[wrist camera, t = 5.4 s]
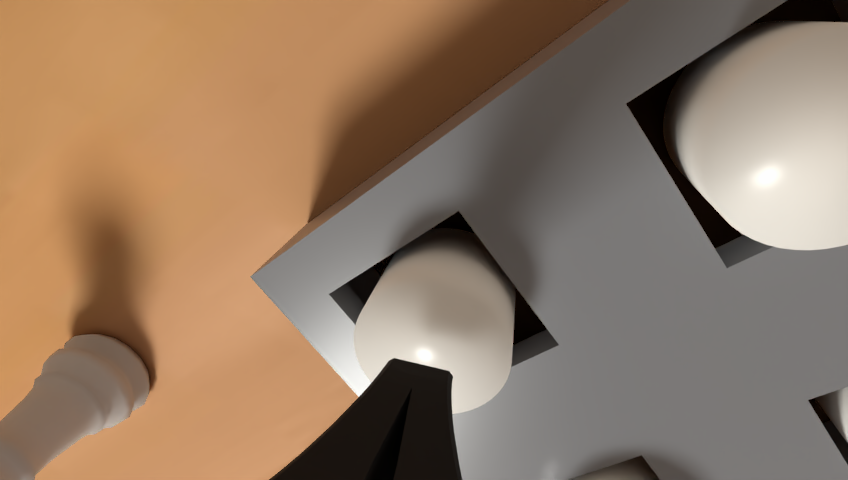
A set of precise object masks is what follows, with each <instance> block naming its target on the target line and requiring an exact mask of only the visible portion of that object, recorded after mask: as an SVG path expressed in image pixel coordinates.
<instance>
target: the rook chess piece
mask: <svg viewBox="0 0 848 480" xmlns="http://www.w3.org/2000/svg"><path fill="white" fill-rule="evenodd" d="M149 386H150V381H149V374H148V370H147V368H146V366H145V365H144V363H143V361H142V359H141V358H140V357H139V356H138V355H137V354H136V353H135V352H134V351H133V350H132V349H131V348H130V347H129V346H128V345H126V344H124V343H123V342H121V341H119V340H118V339H116V338H113V337H110V336H106V335H102V334H88V335H79V336H74V337H73V338H71V339H70V340H69V341H68V342H66V343H65V345H64V349H58V350H57V351H56V352H55V353H53V354H52V355H51V356H49V358H48V359H47V360H46V361H45V363H44V365H43V369H42V373H41V375H40V376H39V377H38V378H36V379H35V382H34V386H33V388H32V390H31V391H30V392H29V393H28V395H27V396H26V397H25V398H24V399H23V400H22V401H21V402H20V403H19V404H18V405H17V406H16V407H15V408H14V409H13V410H12V411H11V412H10V413H9V414H7V415H6V416H5V417H4V418H3V419H2V420H1V421H0V480H34V479H35V475H36V474H37V473H38V472H40V471H41V470H42V469H43V468H44V467H45V466H46V465H47V464H48V463H49V462H50V461H51V460H53V459H54V458H55V457H57V456H58V455H59V454H61V453H62V452H63V451H65V450H66V449H67V448H69V447H70V446H71V445H73V444H74V443H76V442H77V441H78V440H80V439H81V438H83V437H85V436H86V435H91V434H96V433H97V432H99V431H101V430H102V429H103V428H112V427H113V426H115V425H117V424H118V423H120V422H122V421H123V420H125V419H127V418H128V417H130V414H131V412H132V410H135V409H137V408H139V407H140V406H142V405H144V404H145V401H146V399H147V397H148V394H149Z"/></svg>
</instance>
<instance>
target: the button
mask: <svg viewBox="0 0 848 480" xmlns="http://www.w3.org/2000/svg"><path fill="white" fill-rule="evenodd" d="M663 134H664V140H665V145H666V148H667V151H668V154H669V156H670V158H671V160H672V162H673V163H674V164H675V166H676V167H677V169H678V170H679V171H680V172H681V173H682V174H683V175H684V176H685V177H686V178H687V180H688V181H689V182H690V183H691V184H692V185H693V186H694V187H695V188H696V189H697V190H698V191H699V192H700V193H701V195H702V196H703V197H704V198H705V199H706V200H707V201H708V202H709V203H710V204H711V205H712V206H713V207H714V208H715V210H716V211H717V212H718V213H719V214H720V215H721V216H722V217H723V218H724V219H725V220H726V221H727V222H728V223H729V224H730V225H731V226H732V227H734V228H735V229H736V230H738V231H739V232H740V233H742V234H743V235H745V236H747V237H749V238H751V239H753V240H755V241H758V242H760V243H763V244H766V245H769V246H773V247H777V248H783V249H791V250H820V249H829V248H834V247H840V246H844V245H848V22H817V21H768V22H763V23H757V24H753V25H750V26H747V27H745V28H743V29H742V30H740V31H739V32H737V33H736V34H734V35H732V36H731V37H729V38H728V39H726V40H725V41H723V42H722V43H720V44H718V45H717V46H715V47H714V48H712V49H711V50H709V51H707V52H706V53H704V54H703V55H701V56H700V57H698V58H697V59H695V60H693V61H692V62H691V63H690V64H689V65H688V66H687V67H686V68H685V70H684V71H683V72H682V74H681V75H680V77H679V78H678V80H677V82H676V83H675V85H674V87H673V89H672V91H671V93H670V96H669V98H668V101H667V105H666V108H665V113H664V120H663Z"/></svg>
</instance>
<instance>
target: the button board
mask: <svg viewBox="0 0 848 480" xmlns="http://www.w3.org/2000/svg"><path fill="white" fill-rule="evenodd" d="M785 1H787V0H608V1H607V2H606V3H604V4H603V5H602V6H600V7H599V8H598V9H596V10H595V11H594V12H592V13H591V14H589V15H588V16H587V17H585V18H584V19H583V20H581V21H580V22H579V23H577V24H576V25H575V26H573V27H572V28H571V29H569V30H568V31H567V32H565V33H564V34H562V35H561V36H560V37H558V38H557V39H556V40H554V41H553V42H552V43H550V44H549V45H548V46H546V47H545V48H544V49H542V50H541V51H540V52H538V53H537V54H536V55H534V56H533V57H531V58H530V59H529V60H527V61H526V62H525V63H523V64H522V65H521V66H519V67H518V68H517V69H515V70H514V71H513V72H511V73H510V74H509V75H507V76H506V77H504V78H503V79H502V80H500V81H499V82H498V83H496V84H495V85H494V86H492V87H491V88H490V89H488V90H487V91H486V92H484V93H483V94H482V95H480V96H479V97H478V98H476V99H475V100H473V101H472V102H471V103H469V104H468V105H467V106H465V107H464V108H463V109H461V110H460V111H459V112H457V113H456V114H455V115H453V116H452V117H451V118H449V119H448V120H446V121H445V122H444V123H442V124H441V125H440V126H438V127H437V128H436V129H434V130H433V131H432V132H430V133H429V134H428V135H426V136H425V137H424V138H422V139H421V140H420V141H418V142H417V143H415V144H414V145H413V146H411V147H410V148H409V149H407V150H406V151H405V152H403V153H402V154H401V155H399V156H398V157H397V158H395V159H394V160H393V161H391V162H390V163H388V164H387V165H386V166H384V167H383V168H382V169H380V170H379V171H378V172H376V173H375V174H374V175H372V176H371V177H370V178H368V179H367V180H366V181H364V182H363V183H362V184H360V185H359V186H357V187H356V188H355V189H353V190H352V191H351V192H349V193H348V194H347V195H345V196H344V197H343V198H341V199H340V200H339V201H337V202H336V203H335V204H333V205H332V206H330V207H329V208H328V209H326V210H325V211H324V212H322V213H321V214H320V215H318V216H317V217H316V218H314V219H313V220H312V221H310V222H309V223H308V224H306V225H305V226H304V227H303V228H302V229H301V230H300V231H299V232H298V233H297V234H296V235H295V236H293V237H292V238H291V239H290V240H289V241H288V242H287V243H286V244H285V245H284V246H283V247H282V248H281V249H280V250H278V251H277V252H276V253H275V254H274V255H273V256H272V257H271V258H270V259H269V260H268V261H267V262H266V263H265V264H263V265H262V266H261V267H260V268H259V269H258V270H257V271H256V272H255V273H254V274H253V275H252V276H251V278H252V279H253V280H254V282H255V283H256V284H257V285H258V286H259V287H260V288H261V289H262V290H263V291H264V293H265V294H266V295H267V296H268V297H269V298H270V299H271V300H272V301H273V303H274V304H275V305H276V306H277V307H278V308H279V309H280V310H281V311H282V312H283V314H284V315H285V316H286V317H287V318H288V319H289V320H290V321H291V322H292V324H293V325H294V326H295V327H296V328H297V329H298V330H299V331H300V332H301V333H302V335H303V336H304V337H305V338H306V339H307V340H308V341H309V342H310V343H311V345H312V346H313V347H314V348H315V349H316V350H317V351H318V352H319V353H320V355H321V356H322V357H323V358H324V359H325V360H326V361H327V362H328V363H329V364H330V366H331V367H332V368H333V369H334V370H335V371H336V372H337V373H338V374H339V376H340V377H341V378H342V379H343V380H344V381H345V382H346V383H347V384H348V385H349V387H350V388H351V389H352V390H353V391H354V392H355V393H356V394H357V395H358V397H359V396H360V395H361V394H362V393H363V392H364V391H365V390H366V389H367V387H368V386H369V385H370V384H371V383H372V382H371V381H370V380H369V379H368V377H367V376H366V375H365V373H364V371H363V370H362V368H361V366H360V364H359V362H358V360H357V356H356V353H355V348H354V329H355V325H356V322H357V319H358V317H359V315H360V313H361V311H362V309H363V307H364V306H365V304H366V302H367V300H368V299H369V297H370V295H371V294H372V292H373V290H374V288H375V287H376V285H377V283H378V281H379V280H380V278H381V276H380V275H379V274H378V273H377V271H376V270H375V269H374V268H373V265H375V264H377V263H378V262H380V261H381V260H383V259H384V258H386V257H388V256H389V255H391V254H392V253H394V252H395V251H397V250H398V249H400V248H402V247H403V246H405V245H406V244H408V243H409V242H411V241H412V240H414V239H416V238H417V237H419V236H420V235H422V234H423V233H425V232H427V231H428V230H430V229H431V228H433V227H434V226H436V225H437V224H439V223H441V222H442V221H444V220H445V219H447V218H448V217H450V216H452V215H453V214H455V213H456V212H458V211H459V212H460V213H461V215H462V216H463V217H464V219H465V220H466V221H467V223H468V224H469V225H470V227H471V228H472V229H473V231H474V232H475V233H476V235H477V236H478V237H479V239H480V240H481V241H482V243H483V244H484V245H485V247H486V248H487V249H488V251H489V252H490V253H491V255H492V256H493V257H494V259H495V260H496V261H497V263H498V264H499V265H500V267H501V268H502V269H503V271H504V272H505V273H506V275H507V276H508V277H509V279H510V280H511V281H512V283H513V284H514V285H515V287H516V288H517V289H518V291H519V292H520V293H521V295H522V296H523V298H524V299H525V300H526V302H527V303H528V304H529V306H530V307H531V308H532V310H533V311H534V312H535V314H536V315H537V316H538V318H539V319H540V320H541V322H542V323H543V324H544V326H545V327H546V328H547V329H546V330H544V331H542V332H540V333H538V334H536V335H534V336H531V337H529V338H527V339H525V340H523V341H521V342H519V343H517V344H515V345H513V351H512V364H511V370H510V373H509V376H508V379H507V381H506V383H505V384H504V386H503V387H502V389H501V390H500V391H499V393H498V394H497V395H495V396H494V397H493V398H492V399H491V400H490V401H488V402H487V403H485V404H483V405H482V406H480V407H478V408H475V409H472V410H470V411H466V412H462V413H456V414H452V415H453V426H454V434H455V441H456V447H457V453H458V460H459V465H460V470H461V476H462V480H569V479H572V478H575V477H578V476H581V475H584V474H587V473H590V472H593V471H596V470H599V469H602V468H605V467H608V466H611V465H614V464H617V463H620V462H623V461H626V460H629V459H632V458H635V457H638V456H641V455H642V456H643V458H644V459H645V460H646V462H647V463H648V464H649V466H650V467H651V468H652V470H653V471H654V472H655V474H656V475H657V476H658V478H659V479H660V480H848V443H847V442H846V440H845V439H844V437H843V436H842V435H841V433H840V432H839V431H838V429H837V428H836V427H835V425H834V424H833V422H832V421H828V422H824V423H822V422H821V421H820V419H819V417H818V416H817V414H816V413H815V411H814V409H813V408H812V406H811V404H810V403H809V401H808V400H810V399H813V398H816V397H819V396H822V395H825V394H828V393H831V392H834V391H837V390H840V389H843V388H846V387H848V245H844V246H840V247H834V248H829V249H820V250H791V249H783V248H777V247H773V246H769V245H766V244H763V243H760V242H758V241H755V240H753V239H751V238H749V237H747V236H745V235H743V236H740V237H738V238H736V239H734V240H732V241H730V242H728V243H726V244H724V245H722V246H720V247H717V248H714V246H713V245H712V243H711V241H710V240H709V238H708V237H707V235H706V233H705V232H704V230H703V228H702V227H701V225H700V224H699V222H698V220H697V219H696V217H695V215H694V214H693V212H692V210H691V209H690V207H689V206H688V204H687V202H686V201H685V199H684V197H683V196H682V194H681V193H680V191H679V189H678V188H677V186H676V184H675V183H674V181H673V180H672V178H671V176H670V175H669V173H668V171H667V170H666V168H665V166H664V165H663V163H662V162H661V160H660V158H659V157H658V155H657V153H656V152H655V150H654V149H653V147H652V145H651V144H650V142H649V140H648V139H647V137H646V136H645V134H644V132H643V131H642V129H641V127H640V126H639V124H638V123H637V121H636V119H635V118H634V116H633V114H632V113H631V111H630V109H629V108H628V106H627V105H626V103H628V102H629V101H631V100H633V99H634V98H636V97H637V96H639V95H640V94H642V93H643V92H645V91H647V90H648V89H650V88H651V87H653V86H654V85H656V84H658V83H659V82H661V81H662V80H664V79H665V78H667V77H668V76H670V75H672V74H673V73H675V72H676V71H678V70H679V69H681V68H682V67H684V66H686V65H687V64H689V63H690V62H692V61H693V60H695V59H697V58H698V57H700V56H701V55H703V54H704V53H706V52H707V51H709V50H711V49H712V48H714V47H715V46H717V45H718V44H720V43H722V42H723V41H725V40H726V39H728V38H729V37H731V36H732V35H734V34H736V33H737V32H739V31H740V30H742V29H743V28H745V27H746V26H748V25H750V24H751V23H753V22H754V21H756V20H757V19H759V18H761V17H762V16H764V15H765V14H767V13H768V12H770V11H771V10H773V9H775V8H776V7H778V6H779V5H781V4H782V3H784V2H785ZM831 1H832V3H833V5H834V7H835V9H836V12H837V14H838V16H839V18H840V20H841V22H848V0H831Z"/></svg>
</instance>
